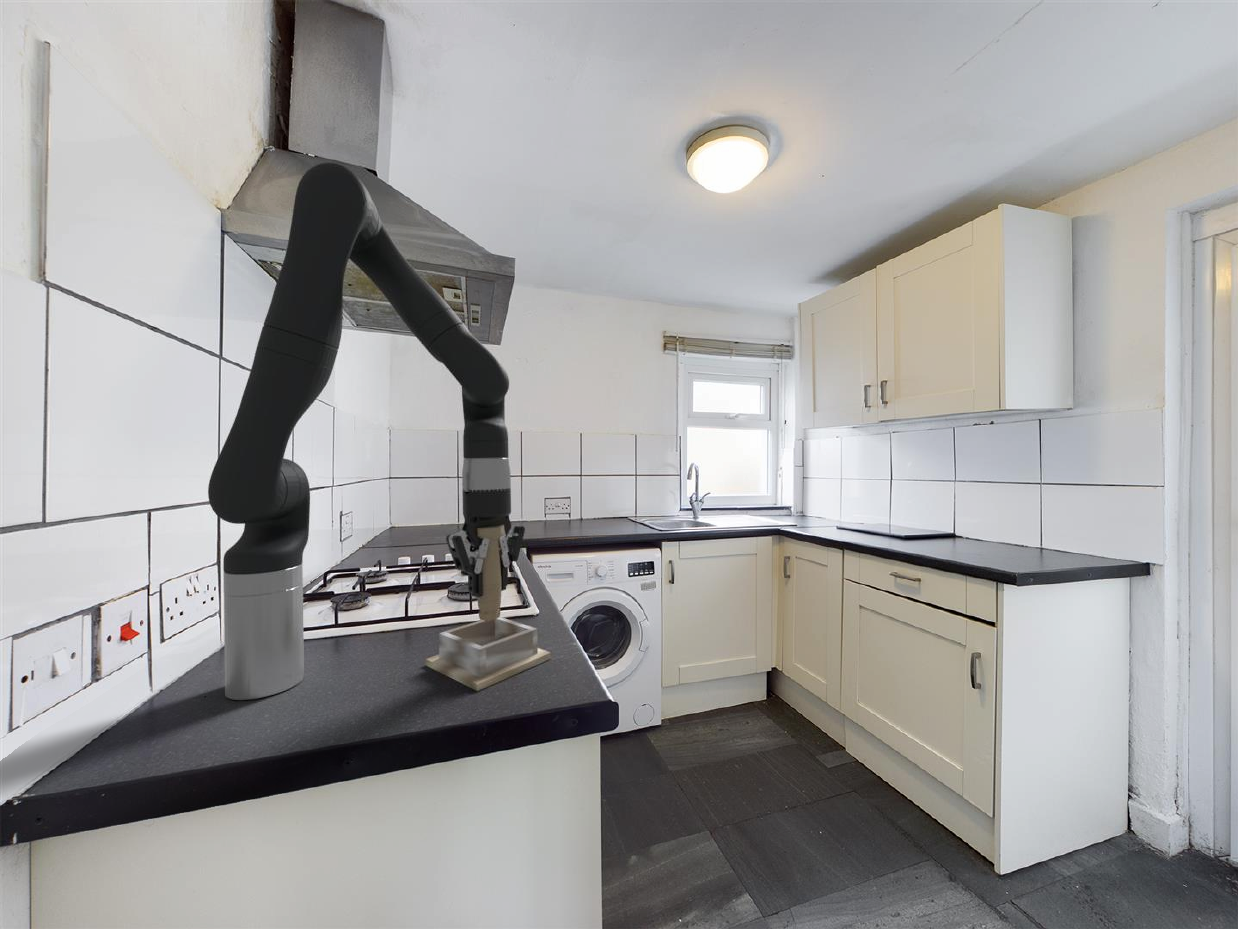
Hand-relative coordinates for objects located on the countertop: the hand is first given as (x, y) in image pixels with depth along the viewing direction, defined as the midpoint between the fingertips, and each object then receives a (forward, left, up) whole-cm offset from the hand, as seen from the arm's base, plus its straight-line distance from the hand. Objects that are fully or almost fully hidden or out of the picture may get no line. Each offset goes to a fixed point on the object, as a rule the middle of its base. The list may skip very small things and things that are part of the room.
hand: (488, 592), depth 77 cm
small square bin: (0, 0, -11) cm, 11 cm away
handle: (0, 0, -4) cm, 4 cm away
